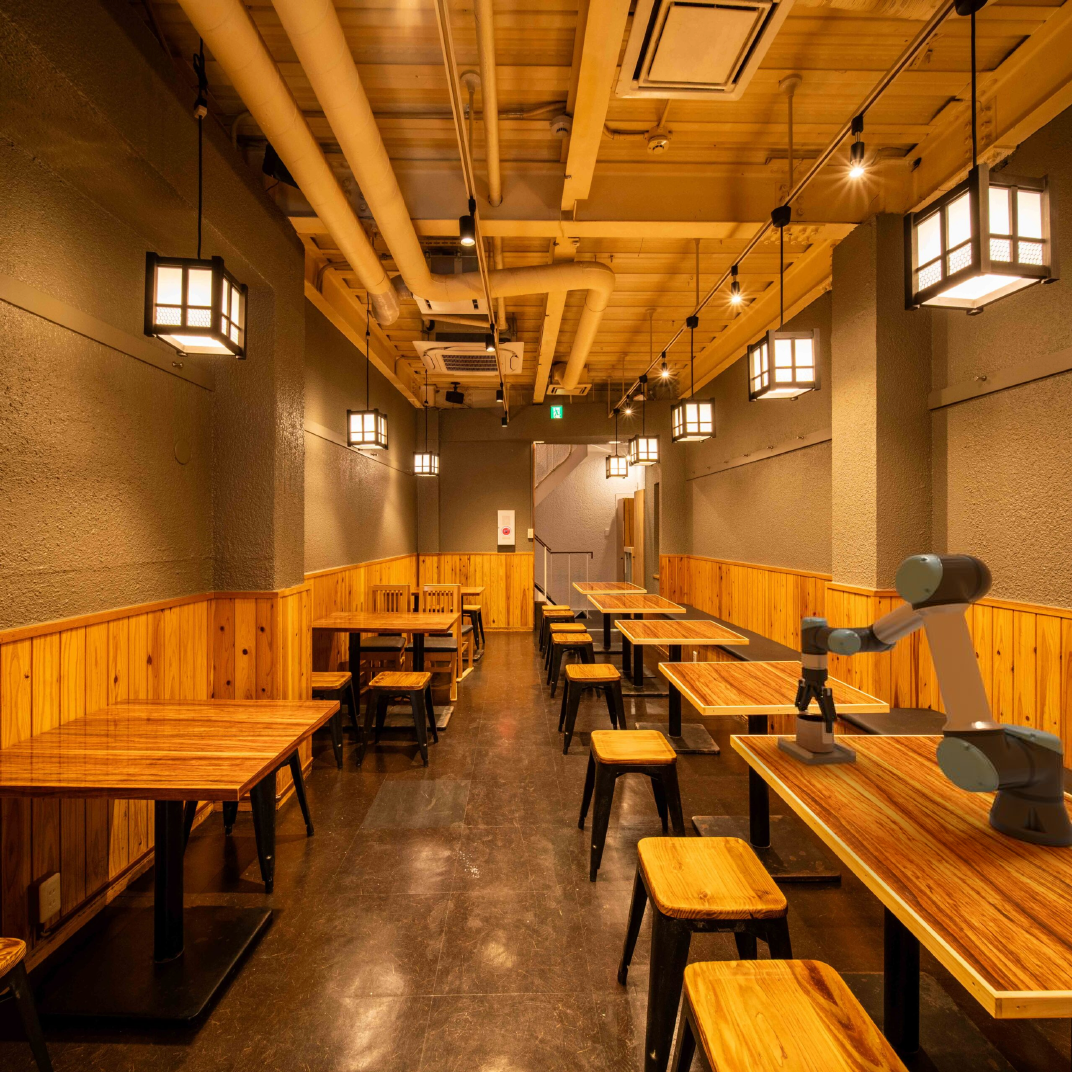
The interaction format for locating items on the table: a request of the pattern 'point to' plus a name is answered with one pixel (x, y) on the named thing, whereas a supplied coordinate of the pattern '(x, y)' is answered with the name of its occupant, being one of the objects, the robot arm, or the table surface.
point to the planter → (812, 733)
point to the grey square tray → (836, 756)
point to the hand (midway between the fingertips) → (815, 737)
